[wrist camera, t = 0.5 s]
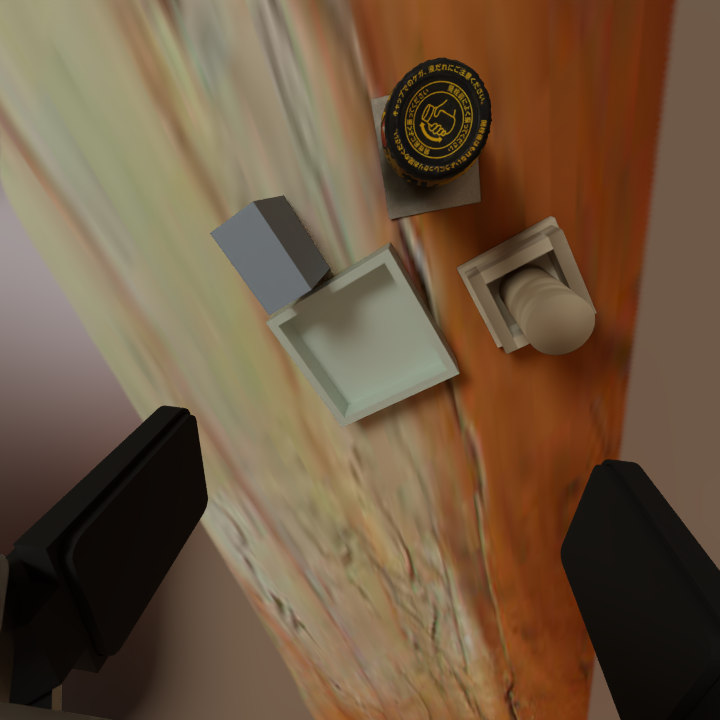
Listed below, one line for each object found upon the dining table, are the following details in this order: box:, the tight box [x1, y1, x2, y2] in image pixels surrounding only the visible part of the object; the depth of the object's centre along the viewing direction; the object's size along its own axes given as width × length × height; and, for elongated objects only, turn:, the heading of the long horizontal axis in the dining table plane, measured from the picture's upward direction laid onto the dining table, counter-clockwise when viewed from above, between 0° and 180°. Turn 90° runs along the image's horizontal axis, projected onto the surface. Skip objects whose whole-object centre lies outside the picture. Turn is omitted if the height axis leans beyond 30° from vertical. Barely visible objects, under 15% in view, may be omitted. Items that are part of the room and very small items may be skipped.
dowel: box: [499, 263, 595, 355], centre depth 29 cm, size 4×4×9 cm
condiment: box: [371, 58, 492, 219], centre depth 25 cm, size 7×8×12 cm
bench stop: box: [210, 195, 330, 315], centre depth 32 cm, size 4×7×7 cm, turn 32°
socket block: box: [457, 216, 596, 354], centre depth 32 cm, size 8×8×4 cm
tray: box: [266, 243, 460, 427], centre depth 36 cm, size 12×12×3 cm
